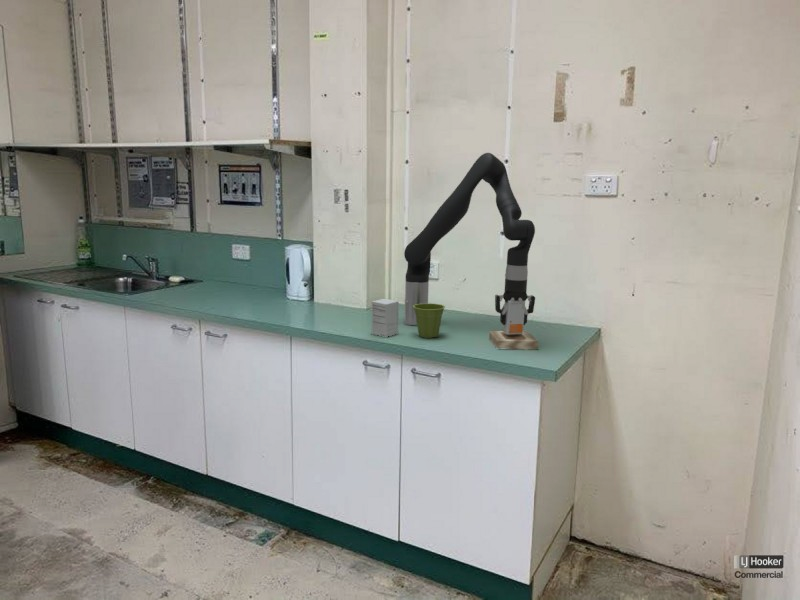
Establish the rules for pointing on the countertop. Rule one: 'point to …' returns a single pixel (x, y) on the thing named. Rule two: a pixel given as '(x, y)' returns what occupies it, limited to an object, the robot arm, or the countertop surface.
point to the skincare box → (514, 318)
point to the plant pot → (428, 319)
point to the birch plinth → (513, 340)
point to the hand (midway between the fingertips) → (513, 324)
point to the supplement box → (385, 317)
